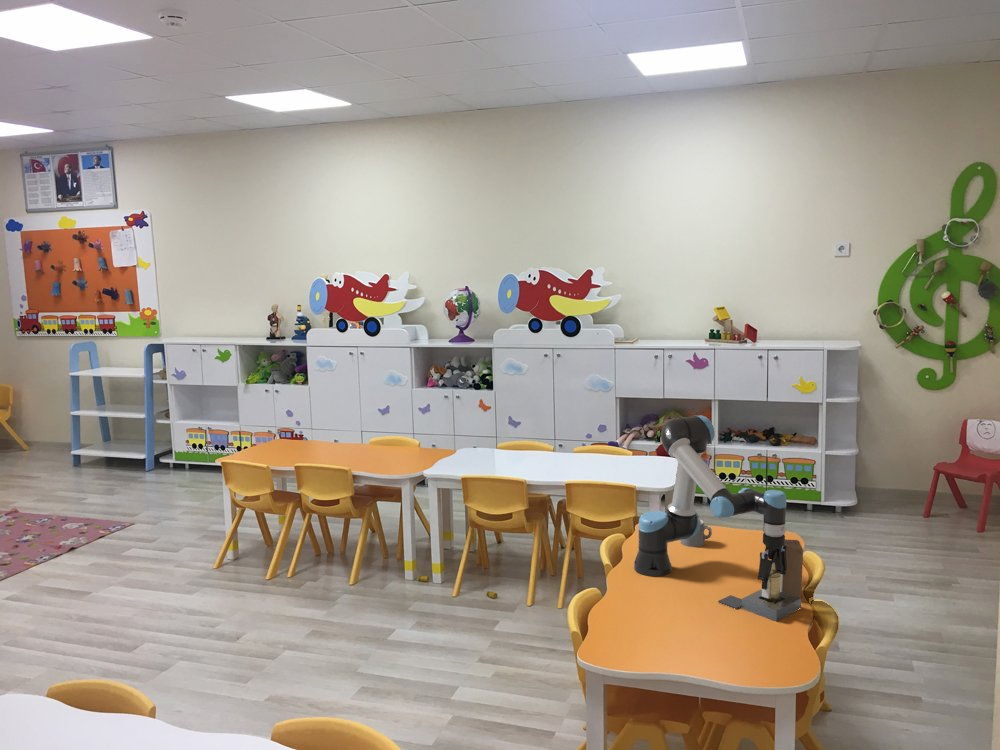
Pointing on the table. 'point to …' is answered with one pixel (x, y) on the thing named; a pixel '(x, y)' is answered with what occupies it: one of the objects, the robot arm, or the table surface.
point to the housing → (771, 605)
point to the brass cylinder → (774, 587)
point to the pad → (732, 601)
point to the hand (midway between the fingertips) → (771, 593)
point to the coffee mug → (697, 537)
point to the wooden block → (792, 568)
